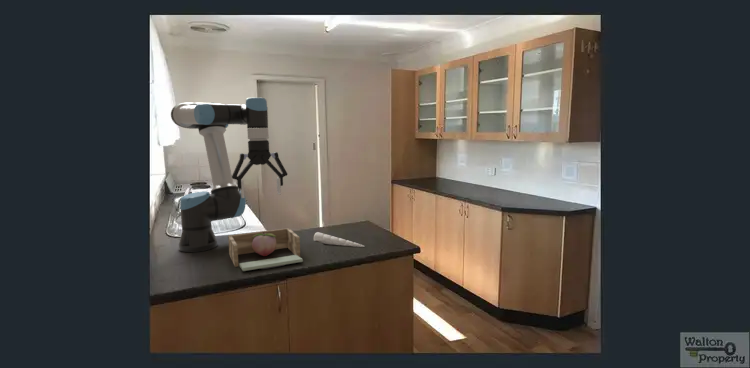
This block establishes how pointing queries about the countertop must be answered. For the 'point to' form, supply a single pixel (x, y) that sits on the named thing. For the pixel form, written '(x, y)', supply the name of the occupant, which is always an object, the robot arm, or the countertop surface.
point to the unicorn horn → (334, 240)
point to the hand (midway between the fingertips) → (261, 196)
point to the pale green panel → (270, 262)
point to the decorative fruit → (264, 243)
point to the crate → (244, 241)
